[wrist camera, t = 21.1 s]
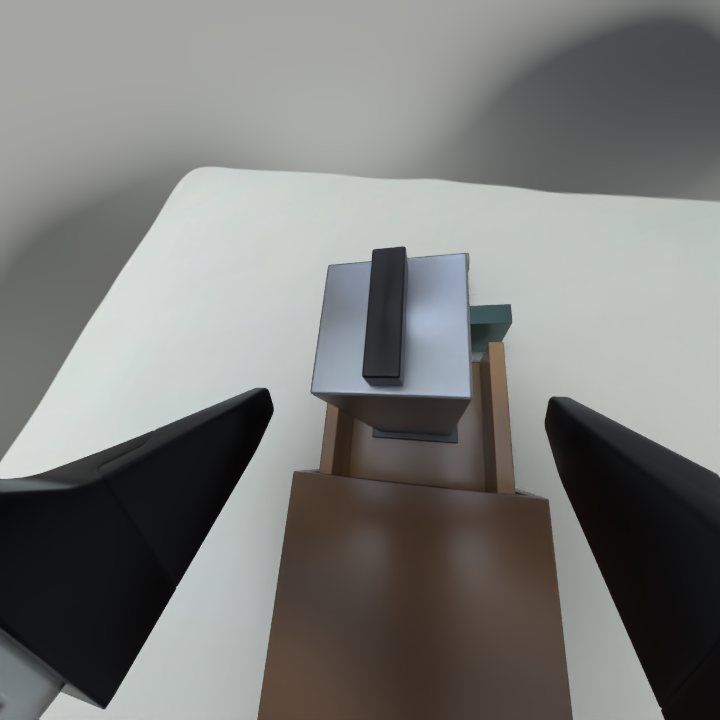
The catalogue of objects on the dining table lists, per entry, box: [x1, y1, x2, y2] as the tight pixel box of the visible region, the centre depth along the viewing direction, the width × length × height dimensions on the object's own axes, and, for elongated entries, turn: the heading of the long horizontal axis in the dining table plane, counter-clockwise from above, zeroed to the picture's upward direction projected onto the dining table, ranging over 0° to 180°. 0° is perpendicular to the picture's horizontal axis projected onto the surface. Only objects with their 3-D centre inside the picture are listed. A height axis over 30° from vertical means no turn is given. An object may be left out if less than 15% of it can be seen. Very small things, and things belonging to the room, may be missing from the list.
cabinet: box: [257, 469, 573, 720], centre depth 15 cm, size 13×12×6 cm
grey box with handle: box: [311, 247, 473, 443], centre depth 14 cm, size 5×5×13 cm
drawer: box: [319, 253, 515, 495], centre depth 19 cm, size 17×11×5 cm, turn 175°
